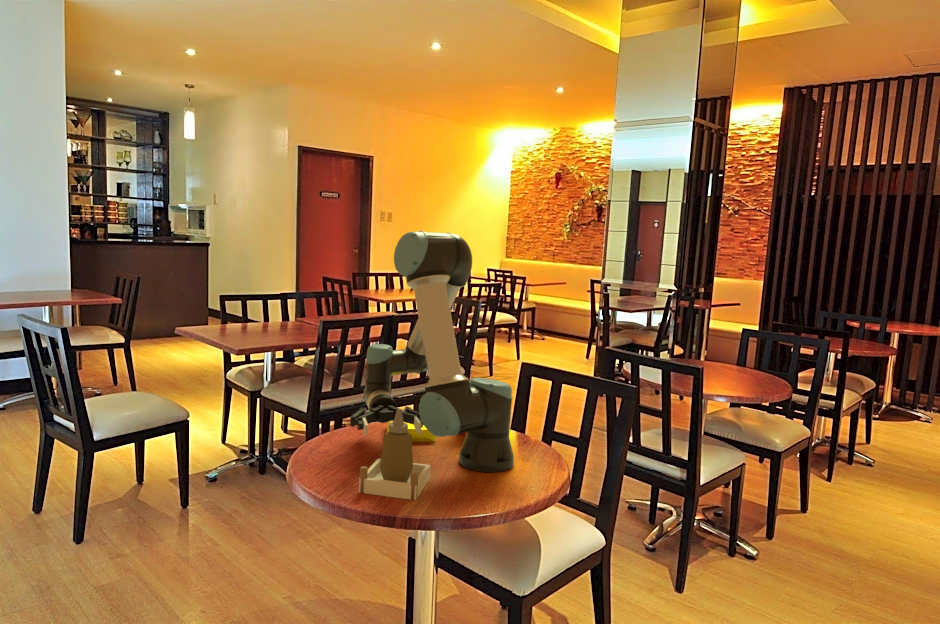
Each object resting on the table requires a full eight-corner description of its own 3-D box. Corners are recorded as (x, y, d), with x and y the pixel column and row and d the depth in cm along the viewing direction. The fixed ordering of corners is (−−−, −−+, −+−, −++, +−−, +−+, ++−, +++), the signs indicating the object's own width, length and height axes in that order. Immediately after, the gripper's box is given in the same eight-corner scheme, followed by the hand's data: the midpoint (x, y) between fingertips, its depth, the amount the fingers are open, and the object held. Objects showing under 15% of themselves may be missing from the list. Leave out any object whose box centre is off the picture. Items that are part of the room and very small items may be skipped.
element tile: (387, 426, 206) (388, 412, 205) (434, 428, 207) (435, 413, 207) (386, 442, 191) (387, 426, 190) (436, 443, 193) (437, 428, 192)
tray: (430, 478, 164) (431, 455, 164) (416, 500, 151) (417, 475, 150) (377, 471, 167) (378, 449, 166) (358, 492, 153) (359, 468, 152)
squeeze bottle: (389, 489, 153) (392, 416, 151) (373, 478, 160) (376, 407, 157) (418, 483, 158) (422, 412, 156) (401, 472, 164) (405, 404, 162)
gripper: (424, 418, 187) (440, 442, 167) (336, 420, 180) (342, 445, 160) (425, 393, 186) (442, 414, 166) (337, 394, 179) (344, 416, 159)
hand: (393, 430), depth 163 cm, fingers open, 13 cm apart
